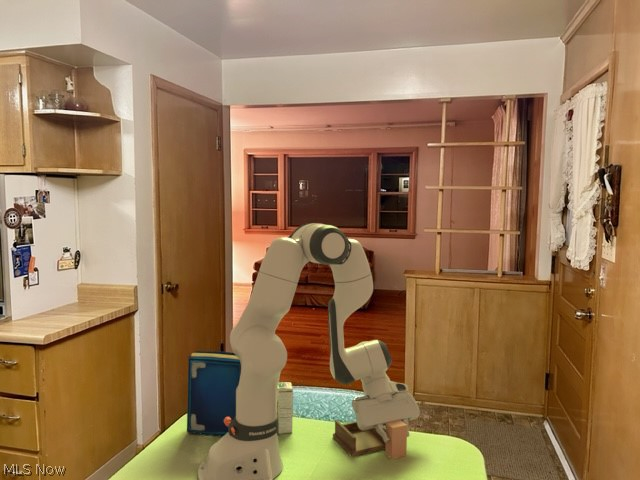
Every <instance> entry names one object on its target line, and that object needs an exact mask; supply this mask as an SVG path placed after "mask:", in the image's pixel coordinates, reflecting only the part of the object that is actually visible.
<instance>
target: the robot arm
mask: <svg viewBox="0 0 640 480" xmlns="http://www.w3.org/2000/svg"><path fill="white" fill-rule="evenodd" d="M309 262H311V263H313V264H319V265H320V264H321V265H325V266H326V265H327V266H328V265H329V266H330V267H329V268H330V269H331V272H332V276H333V281H334V293H333V296H332V297H331V299H330V300H329V301H328V305H327V306H328V307H327V317H328V318H327V319H328V323H327V324H328V339H329V371H330V373H331V375H332V377H333V380H334V381H336V382H337V383H339V384H341V385H344V386H347V385H349V384H352V383H355V382H356V381H358V380H360V381H361V382H362V383H361V384H362V391H363V392H364V395H363V396H356V397H354V399H353V400H352V401H351V408H352V410H353V411H354V416H355V420H356V421H357V425H358V428H359V429H361V430H362V431H363V430H367V429H372V428H376V431H377V432H378V433H379V434H380V435H381V436H382V437H383V440H384V442H388V441H390V440H391V438H390V435H389V433H388V434H386V433H385V431H384V430H383V429H382V428H383V427H386V423H388V422H393V421H397V420H401V421H403V422H404V423H405V424H407V438H408V437H410V435H411V434H410V431H409V421H413V420H416V419H417V418H418V417H419V416H420V414H421V411H420V410H421V409H420V407H419V405H418V402H417V401H416V399H415V397H414V396H413V395H412V393H411V392H409V390H410V389H409V385H408V384H406V383H401V382H396V381H393V380H392V381H391V379H390V376H388V374H387V373H386V371H388V370H389V368H390V367H391V364H392V362H393V358H392V355H391V354H390V351H389V348H388V346H387V344H386V343H385V342H383V341H381V340H379V339H372V340H369V341H367V340H366V341H361V342H358V344H356V345H353V346H349V347H346V348H345V339H344V337H345V335H344V334H345V333H344V325H345V322H346V320H347V319H348V318H349V317H350V316H351V315H353V313H355V312H356V311H357V310H358V309H360V308H361V307H363V306H364V305H365V304H366V303H367V302H368V301H369V299H370V298H371V297H372V295H373V293H374V281H373V275H372V272H371V271H372V270H371V267H370V263H369V260H368V258H367V255H366V252H365V250H364V248H363V246H362V243H360V241H358V240H356V239H354V238H348V237H347V236H346V235H345V233H344V232H343V231H342V230H341V229H339V228H338V227H337V226H334V225H331V224H324V223H320V222H319V223H318V222H316V223H315V222H313V223H304V224H302V225H299V226H298V227H297V228H296V229H294V231H293V232H292V233H291V234H290V235H289V236H288V237H284V236H283V237H282V236H281V237H277V238H274V240H273V241H271V243H270V244H269V247H268V249H267V250H266V252H265V254H264V257H263V259H262V262H261V264H260V267H259V270H258V272H257V277H256V279H255V282H254V285H253V288H252V292H251V294H250V298H249V300H248V302H247V304H246V307H245V308H244V310H243V312H242V313H241V315H240V318H239V320H238V322H237V324H235V326H234V327H233V328H232V329H231V331H230V334H229V342H230V347H231V350H232V353H234V354H235V355H236V356H237V357H238V358H239V360H240V363H241V375H240V380H239V385H238V386H237V388H236V416H235V418H234V419H233V420H231V418H230V417H225V419H224V423H225V425H226V426H228V433H227V434H225V435H224V436H221V438H220V439H218V440H217V441H216V442H214V443H213V444H212V445H211V446H210V448H209V450H208V453H207V456H206V457H207V458H206V460H205V461H203V462H201V463H200V465H199V466H198V469H197V479H198V480H274V479H275V478H276V477H277V476H278V475H280V474H281V472H282V471H283V468H284V465H283V460H282V458H281V454H280V453H281V452H280V447H279V446H280V445H279V439H278V438H279V437H278V436H279V418H278V415H277V389H278V383H279V382H280V377H281V373H282V371H283V369H284V368H285V366H286V364H287V360H288V350H287V348H286V346H285V344H284V343H283V341H282V339H281V338H280V337H279V336H278V335H277V334H276V330H277V328H278V326H279V324H280V322H281V320H282V319H283V318H284V316H285V315H286V314H288V313H289V311H290V309H291V306H292V303H293V300H294V298H295V297H294V296H295V295H296V294H295V293H296V291H297V287H298V283H299V280H300V277H301V273H302V270H303V268H304V267H305V266H306V264H308V263H309Z"/></svg>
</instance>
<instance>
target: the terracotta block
mask: <svg viewBox="0 0 640 480" xmlns="http://www.w3.org/2000/svg"><path fill="white" fill-rule="evenodd" d="M385 429H386V434H388V433H389V435H390V438H391V440H390V441H388V442H385V448H384V449H385V451H384V452H385V453H384V454H385V455H387V456H388V457H389V458H390V459H391V460H394V459H397V458H401V457H405V456H407V455H408V454H407V447H408V446H407V443H408V442H407V441H408V440H407V439H408V437H407V424H405V423H404V422H403V421H401V420H397V421H393V422H388V423H386V426H385Z"/></svg>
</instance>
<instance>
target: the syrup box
mask: <svg viewBox="0 0 640 480" xmlns="http://www.w3.org/2000/svg"><path fill="white" fill-rule="evenodd" d="M293 410H294V387H293V384H292V382H290V381H289V382H287V381H281V382H280V381H279V382H278V389H277V415H278V418H279V434H290V433H293ZM279 434H278V435H279Z"/></svg>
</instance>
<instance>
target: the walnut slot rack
mask: <svg viewBox="0 0 640 480" xmlns="http://www.w3.org/2000/svg"><path fill="white" fill-rule="evenodd" d="M382 429H383V430H384V431H385V433H386V427H385V426H383V428H382ZM332 438H333V439H334V440H335V442H337V444H338V445H340V446H341V448H342V449H344V451H345V452H346V453H347V454H348V455H349V456H350V457H353V456H359V455H362V454H366V453H371V452H376V451H379V450H384V449H385V442H384V440H383V437H382V436H381V435H380V434H379V433H378V432H377V431H376V428H372V429H367V430H363V431H362V430H361V429H359V428H358V425H357V421H352V422H345V423H341V422H340V421H339V420H337V419H335V420H334V432H333V433H332Z"/></svg>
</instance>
